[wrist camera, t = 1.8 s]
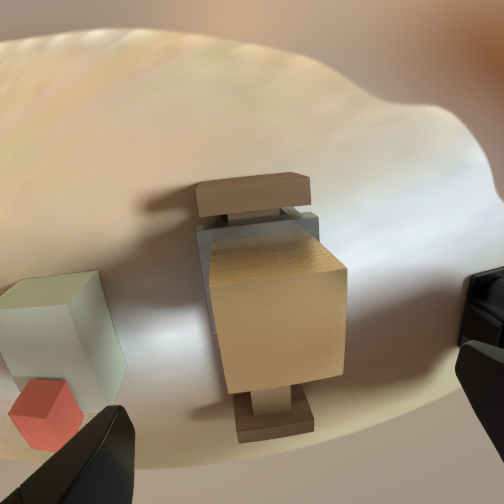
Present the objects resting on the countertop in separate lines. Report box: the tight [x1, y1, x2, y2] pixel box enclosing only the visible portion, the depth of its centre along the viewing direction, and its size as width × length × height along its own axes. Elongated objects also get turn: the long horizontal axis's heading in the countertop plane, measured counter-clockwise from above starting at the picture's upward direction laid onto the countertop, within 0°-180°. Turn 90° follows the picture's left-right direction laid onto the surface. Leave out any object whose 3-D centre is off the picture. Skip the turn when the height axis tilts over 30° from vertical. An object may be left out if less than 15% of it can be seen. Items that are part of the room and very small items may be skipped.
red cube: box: [8, 379, 84, 452], centre depth 13 cm, size 3×3×3 cm
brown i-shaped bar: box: [195, 172, 314, 443], centre depth 17 cm, size 15×5×3 cm, turn 6°
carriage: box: [196, 207, 347, 394], centre depth 14 cm, size 5×5×8 cm
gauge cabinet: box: [0, 270, 127, 413], centre depth 16 cm, size 6×7×4 cm
